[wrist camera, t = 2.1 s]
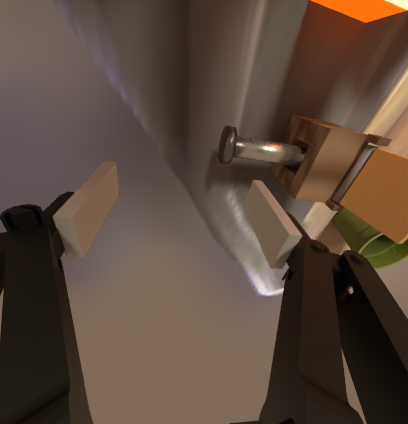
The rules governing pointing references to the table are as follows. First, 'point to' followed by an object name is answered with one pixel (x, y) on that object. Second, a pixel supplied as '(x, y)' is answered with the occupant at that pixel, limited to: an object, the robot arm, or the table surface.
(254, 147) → the pin
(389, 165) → the plate
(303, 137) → the hitch block
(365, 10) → the orange juice
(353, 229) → the plant pot
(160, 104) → the table surface
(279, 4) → the table surface
